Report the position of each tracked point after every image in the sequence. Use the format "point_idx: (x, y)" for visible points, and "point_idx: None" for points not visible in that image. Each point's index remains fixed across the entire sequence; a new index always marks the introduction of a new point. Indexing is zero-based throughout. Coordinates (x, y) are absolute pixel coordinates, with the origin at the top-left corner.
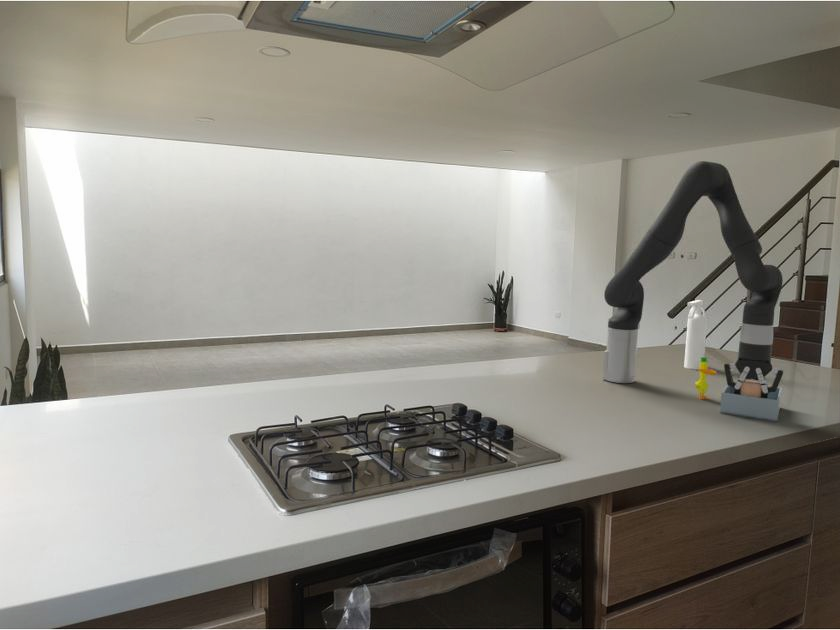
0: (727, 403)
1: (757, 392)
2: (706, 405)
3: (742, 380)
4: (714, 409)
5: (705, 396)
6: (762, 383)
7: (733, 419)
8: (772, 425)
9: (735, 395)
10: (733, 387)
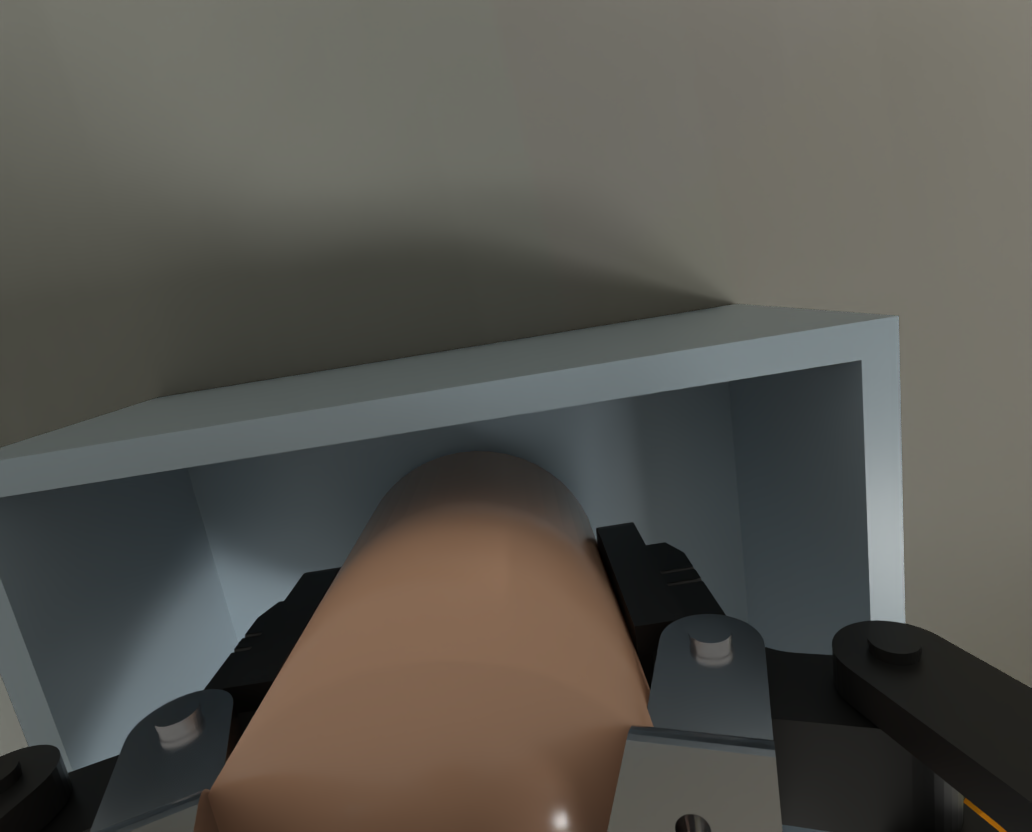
0: (708, 324)
1: (313, 617)
2: (923, 537)
3: (654, 754)
4: None
5: (998, 827)
6: (132, 822)
7: (544, 121)
8: (142, 206)
9: (645, 356)
10: (774, 651)
